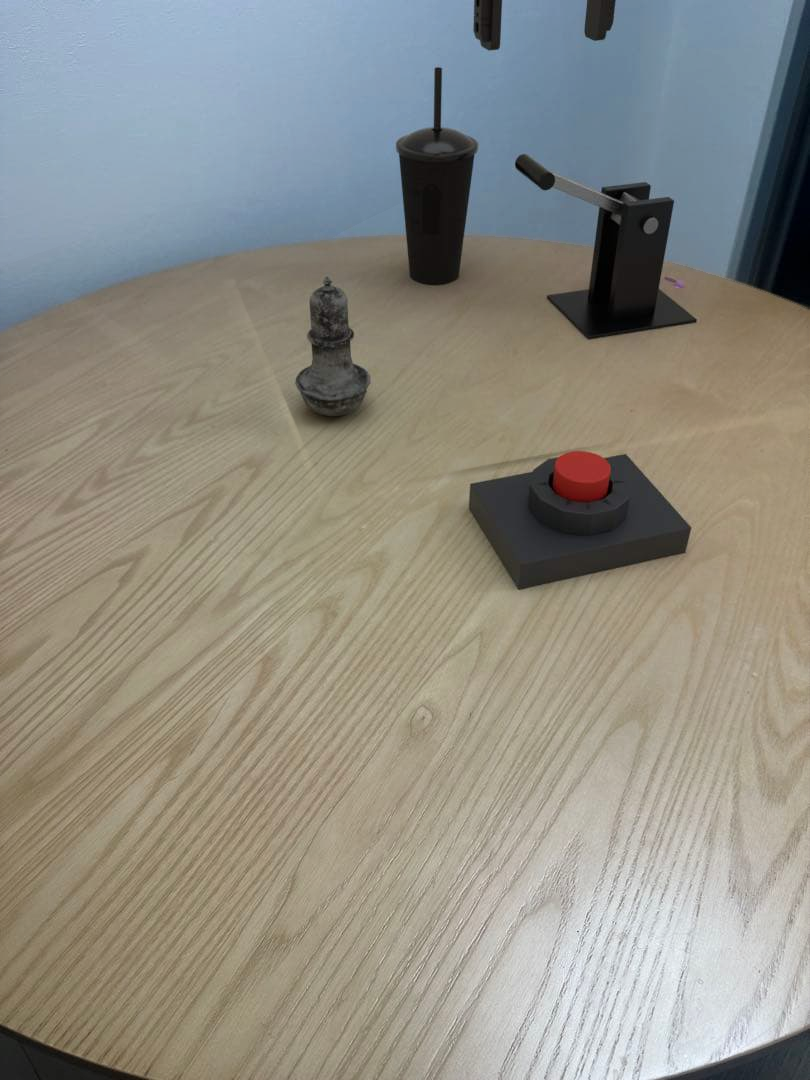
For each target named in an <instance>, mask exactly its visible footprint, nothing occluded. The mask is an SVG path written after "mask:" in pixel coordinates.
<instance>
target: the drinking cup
mask: <svg viewBox="0 0 810 1080" xmlns="http://www.w3.org/2000/svg"><path fill="white" fill-rule="evenodd" d="M433 71H434V73H433V74H434V75H433V76H434V77H433V78H434V79H433V80H434V81H433V126H431V127H430V126H429V127H424V128H420V129H417V130H415V131H413V132H411V133H409V134H407V135H404V136H401V137H400V138H398V140H397V141H396V142H395V151H396V153H397V154H398V158H399V159H398V160H399V169H400V182H401V193H402V204H403V215H404V224H405V225H404V227H405V237H406V249H407V261H408V270H409V278H410V279H411V280H412V281H414V282H416V283H418V284H422V285H427V286H443V285H448V284H451V283H453V282H455V281H457V280H458V279H459V277H460V268H461V263H462V253H463V247H464V239H465V232H466V223H467V215H468V209H469V208H468V207H469V201H470V194H471V193H470V192H471V184H472V176H473V169H474V163H475V162H474V161H475V155H476V154H477V153H478V151H479V142H478V141H477V139H475V138H473V137H472V136H469V135H467V134H465V133H463V132H461V131H459V130H456V129H454V128H450V127H445V126H442V96H443V92H442V91H443V68H442V67H437V66H436V67H434V70H433Z"/></svg>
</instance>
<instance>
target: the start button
mask: <svg viewBox="0 0 810 1080" xmlns="http://www.w3.org/2000/svg"><path fill="white" fill-rule="evenodd" d="M558 457H559V458H558V459H557V460H556V462H555V468H554V476H553V489H554V491H555V493H556V494H557V495H559V496H561V497H563V498H565V499H567V500H569V501H576V502H584V503H588V502H593V501H598V500H601V499H602V498H603V497H604V496H605V495H606V494H607V491H608V485H609V478H610V472H611V468H610V465H609V463H608V462H607V461H606V460H605V459H604V458H605V457H603V456H601V455H599V454H596V453H595V452H591V451H585V450H576V451H575V450H574V451H567V452H565V453H563V454H561V455H560V456H558Z"/></svg>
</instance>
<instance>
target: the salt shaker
mask: <svg viewBox="0 0 810 1080" xmlns="http://www.w3.org/2000/svg"><path fill="white" fill-rule="evenodd" d="M332 283H333V281H332V279H331V278H330V277H329V276H327V275H326V277H325V278H324V279H323V281H322V284H324V285H323V286H320V287H319V288H317V289H315V290H314V291H313V292H312V293H311V295H310V296H309V311H310V312H309V313H310V315H309V316H310V328H311V329H309V330H308V332H307V333H306V339H307V341H308V342H310V344H311V358H312V360H311V364H310V365H309V366H306V367H304V368H303V369H302V370H301V371H299V372H298V374H297V375H296V377H295V381H294V384H295V387H296V389H297V390H298V391H299V393H300V396H301V398H302V400H303V402H304V403H305V405H306V406H307V407H308V408H309V409H310V410H311V411H313V412H314V413H317V414H318V415H322V416H327V417H342V416H346V415H348V414H350V413H352V412H354V411H355V410H356V409H357V408H358V407H360V405H362V403H363V401H364V399H365V397H366V395H367V391H368V388H369V386H370V384H371V375H370V374H369V372H368V371H367V369H365V368H364V367H363V366H361V365H359V364H356V363H353V359H352V351H351V350H352V349H351V348H352V347H351V341H352V340H353V339H354V337H355V332H354V330H353V329H352V328H351V327H350V326H349V305H348V296H347V294H346V292H345V291H344V290H343V289H341V288H339V287H337V286H333V285H331V284H332Z"/></svg>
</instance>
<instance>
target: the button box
mask: <svg viewBox="0 0 810 1080" xmlns="http://www.w3.org/2000/svg"><path fill="white" fill-rule="evenodd" d="M559 457H560V456H556V457H552V458H548V459H546V460H545V461H543V462H542V463H540V464H539V465H537V466H536V467H535V468H533V470H532V471H528V472H524V473H519V474H513V475H507V476H503V477H498V478H492V479H487V480H483V481H477V482H472V483H470V484H469V496H468V497H469V499H468V509H469V512H470V513H471V514H472V516H473V518H474V520H475V521H476V523H477V524H478V526H479V528H480V529H481V531H482V532H483V534H484V536H485V537H486V539H487V541H488V542H489V544H490V545H491V548H492V549H493V550H494V553H495V554H496V556H497V557H498V559H499V561H501V562H500V563H502V565H503V567H504V569H505V570H506V572H507V573H508V576H509V577H510V578H511V580H512V582H513V584H514V585H515V587H516V589H517V590H518V591H520V590H524V589H530V588H533V587H538V586H543V585H548V584H552V583H556V582H560V581H565V580H570V579H573V578H579V577H583V576H588V575H592V574H597V573H601V572H605V571H609V570H610V571H611V570H615V569H620V568H622V567H623V568H624V567H629V566H633V565H638V564H642V563H646V562H651V561H655V560H660V559H665V558H668V557H673V556H677V555H682V554H685V553H686V551H687V547H688V545H689V539H690V535H691V531H692V527H691V525H690V524H689V523H688V521H686V520H685V519H684V517H683V515H681V514H680V513H679V512H678V511H677V509H676V508H674V506H673V505H672V504H671V503H670V502H669V501H668V500H667V498H666V497H665V496H664V495H663V494H662V492H661V491H660V490H659V489H658V488H657V487H656V486H655V485H654V483H652V481H651V480H650V479H649V478H648V477H647V476H646V475H645V473H643V471H642V470H641V469H640V467H638V465H636V463H634V461H633V460H632V459H631V458H630V456H628V454H626V453H622V454H618V455H613V456H607V457H603V458H604V459H605V460H606V461H607V462H608V463H609V465H610V468H611V472H610V478H609V485H608V491H607V494H606V495H605V496H604V497H603V498H602V499H601V500H598V501H593V502H588V503H584V502H576V501H569V500H567V499H565V498H563V497H561V496H559V495H557V494H556V493H555V491H554V489H553V476H554V468H555V462H556V460H557V459H558V458H559Z"/></svg>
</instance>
